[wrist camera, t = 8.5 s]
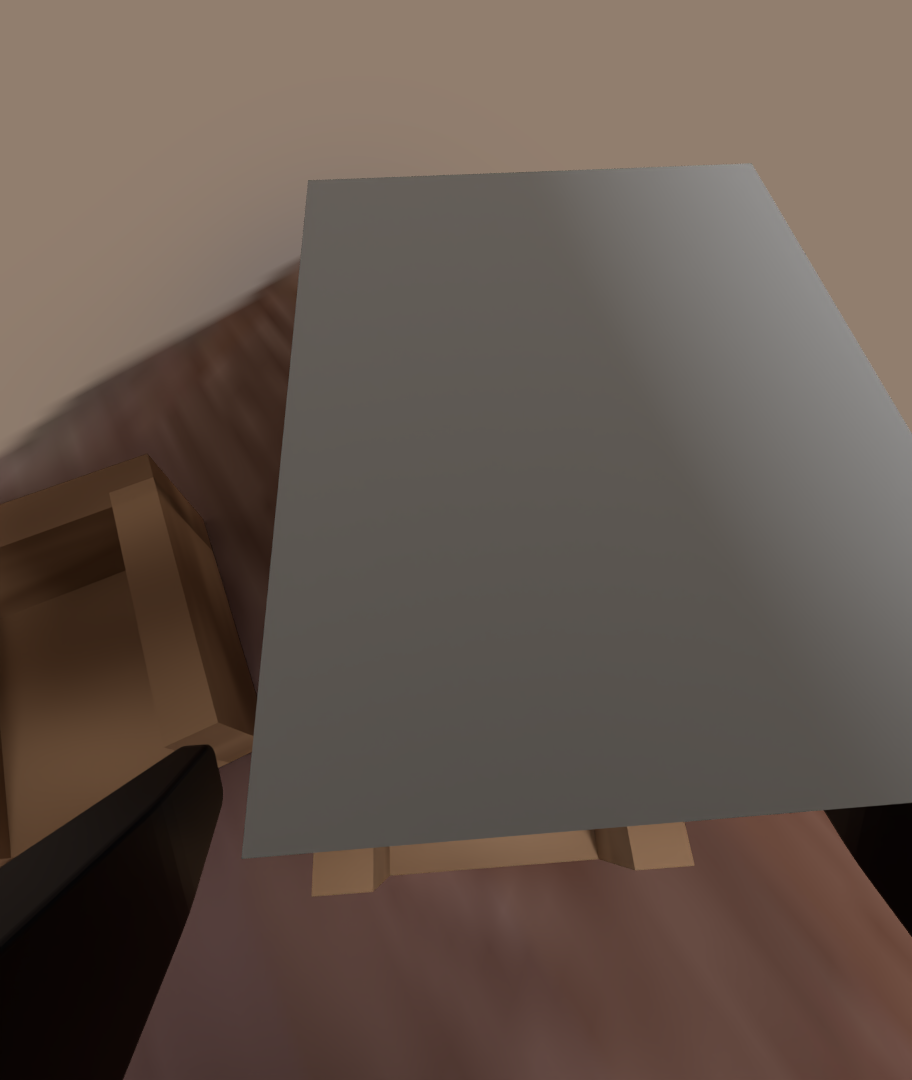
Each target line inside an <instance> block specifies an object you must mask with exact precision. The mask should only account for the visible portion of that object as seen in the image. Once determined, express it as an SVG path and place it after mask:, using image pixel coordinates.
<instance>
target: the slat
mask: <svg viewBox="0 0 912 1080" xmlns="http://www.w3.org/2000/svg"><path fill="white" fill-rule="evenodd" d="M902 803H912V433H911V432H910V430H909V428H908V426H907V425H906V423H905V421H904V420H903V418H902V416H901V415H900V413H899V411H898V410H897V408H896V406H895V404H894V403H893V401H892V400H891V398H890V396H889V394H888V393H887V391H886V389H885V388H884V386H883V384H882V383H881V381H880V379H879V377H878V376H877V374H876V373H875V371H874V369H873V368H872V366H871V364H870V362H869V361H868V359H867V357H866V356H865V354H864V352H863V351H862V349H861V347H860V345H859V344H858V342H857V340H856V339H855V337H854V335H853V334H852V332H851V330H850V329H849V327H848V325H847V324H846V322H845V320H844V319H843V317H842V315H841V313H840V312H839V310H838V308H837V307H836V305H835V303H834V302H833V300H832V298H831V297H830V295H829V293H828V291H827V290H826V288H825V286H824V285H823V283H822V281H821V280H820V278H819V277H818V275H817V273H816V271H815V270H814V268H813V266H812V265H811V263H810V261H809V259H808V258H807V256H806V254H805V253H804V251H803V249H802V248H801V246H800V244H799V243H798V241H797V239H796V238H795V236H794V234H793V232H792V231H791V229H790V227H789V226H788V224H787V223H786V221H785V219H784V217H783V216H782V214H781V212H780V211H779V209H778V207H777V205H776V204H775V202H774V200H773V199H772V197H771V195H770V194H769V192H768V190H767V189H766V187H765V185H764V184H763V182H762V180H761V178H760V177H759V175H758V173H757V172H756V170H755V168H754V167H753V165H752V164H751V163H750V164H724V165H698V166H675V167H674V166H673V167H647V168H620V169H596V170H568V171H542V172H517V173H490V174H465V175H439V176H414V177H413V176H412V177H386V178H361V179H335V180H309V181H308V189H307V199H306V209H305V219H304V230H303V239H302V249H301V259H300V269H299V279H298V290H297V300H296V310H295V320H294V330H293V340H292V351H291V361H290V371H289V381H288V391H287V401H286V412H285V422H284V432H283V442H282V452H281V462H280V472H279V483H278V493H277V503H276V513H275V523H274V533H273V544H272V554H271V564H270V574H269V584H268V594H267V605H266V615H265V625H264V635H263V645H262V655H261V666H260V676H259V686H258V696H257V706H256V716H255V727H254V737H253V747H252V757H251V767H250V777H249V787H248V798H247V808H246V818H245V828H244V838H243V848H242V859H245V858H257V857H269V856H281V855H293V854H305V853H317V852H329V851H341V850H353V849H365V848H377V847H389V846H401V845H412V844H424V843H436V842H448V841H460V840H472V839H484V838H496V837H508V836H520V835H532V834H544V833H556V832H568V831H580V830H591V829H603V828H615V827H627V826H639V825H651V824H663V823H675V822H687V821H699V820H711V819H723V818H735V817H747V816H759V815H771V814H782V813H794V812H806V811H818V810H830V809H842V808H854V807H866V806H878V805H890V804H902Z"/></svg>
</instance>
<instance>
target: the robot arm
mask: <svg viewBox="0 0 912 1080" xmlns="http://www.w3.org/2000/svg"><path fill="white" fill-rule="evenodd" d="M222 800H223V788H222V783H221V779H220V774H219V769H218V764H217V760H216V755H215V752H214V749H213V748H212V746H210V745H208V744H202V745H188V746H182V747H180V748H178V749H177V750H175V751H174V752H172V753H171V754H169V755H168V756H166V757H165V758H163V759H162V760H160V761H159V762H157V763H156V764H154V765H153V766H151V767H150V768H148V769H147V770H145V771H144V772H142V773H141V774H139V775H138V776H136V777H135V778H133V779H132V780H130V781H129V782H127V783H126V784H124V785H123V786H121V787H120V788H118V789H117V790H115V791H114V792H112V793H111V794H109V795H108V796H106V797H105V798H103V799H102V800H100V801H99V802H97V803H96V804H94V805H93V806H91V807H90V808H88V809H87V810H85V811H84V812H82V813H81V814H79V815H78V816H76V817H75V818H73V819H72V820H70V821H69V822H67V823H66V824H64V825H63V826H61V827H60V828H58V829H57V830H55V831H54V832H52V833H51V834H49V835H48V836H46V837H45V838H43V839H42V840H40V841H39V842H37V843H36V844H34V845H33V846H31V847H30V848H28V849H27V850H25V851H24V852H22V853H21V854H19V855H18V856H16V857H15V858H13V859H12V860H10V861H9V862H7V863H6V864H4V865H3V866H1V867H0V1080H123V1078H124V1076H125V1073H126V1071H127V1068H128V1066H129V1063H130V1061H131V1058H132V1056H133V1053H134V1051H135V1048H136V1046H137V1043H138V1041H139V1038H140V1036H141V1033H142V1031H143V1028H144V1026H145V1023H146V1021H147V1018H148V1016H149V1014H150V1011H151V1009H152V1006H153V1004H154V1001H155V999H156V996H157V994H158V991H159V989H160V986H161V984H162V981H163V979H164V976H165V974H166V971H167V969H168V966H169V964H170V961H171V959H172V956H173V954H174V952H175V949H176V947H177V944H178V942H179V939H180V937H181V934H182V932H183V929H184V926H185V924H186V921H187V918H188V916H189V913H190V910H191V907H192V904H193V901H194V897H195V894H196V891H197V888H198V884H199V881H200V877H201V874H202V871H203V867H204V864H205V860H206V857H207V854H208V850H209V847H210V843H211V840H212V837H213V833H214V830H215V826H216V823H217V820H218V816H219V813H220V810H221V806H222ZM824 812H825V813H826V815H827V816H828V818H829V820H830V821H831V823H832V824H833V826H834V828H835V829H836V831H837V833H838V834H839V836H840V837H841V839H842V841H843V842H844V844H845V845H846V847H847V848H848V850H849V851H850V853H851V854H852V856H853V857H854V859H855V860H856V862H857V863H858V865H859V866H860V867H861V869H862V870H863V872H864V873H865V874H866V876H867V877H868V879H869V880H870V881H871V883H872V884H873V885H874V887H875V888H876V889H877V891H878V892H879V893H880V895H881V896H882V898H883V899H884V900H885V902H886V903H887V904H888V906H889V907H890V908H891V910H892V911H893V912H894V914H895V915H896V916H897V918H898V919H899V920H900V922H901V923H902V924H903V926H904V927H905V928H906V930H907V931H908V933H909V934H910V935H911V937H912V803H902V804H890V805H878V806H866V807H854V808H842V809H830V810H824Z"/></svg>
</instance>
